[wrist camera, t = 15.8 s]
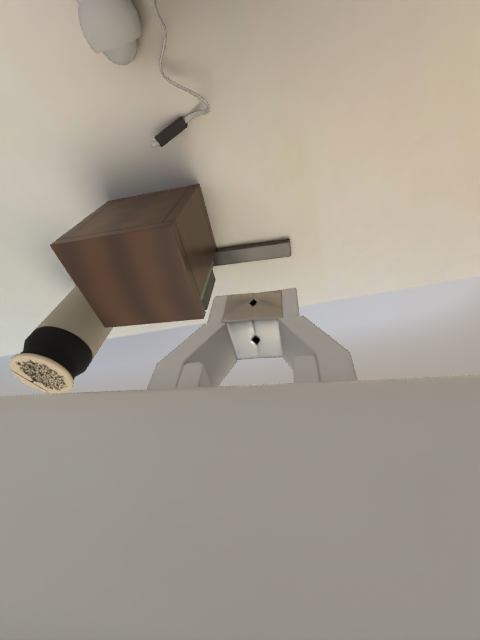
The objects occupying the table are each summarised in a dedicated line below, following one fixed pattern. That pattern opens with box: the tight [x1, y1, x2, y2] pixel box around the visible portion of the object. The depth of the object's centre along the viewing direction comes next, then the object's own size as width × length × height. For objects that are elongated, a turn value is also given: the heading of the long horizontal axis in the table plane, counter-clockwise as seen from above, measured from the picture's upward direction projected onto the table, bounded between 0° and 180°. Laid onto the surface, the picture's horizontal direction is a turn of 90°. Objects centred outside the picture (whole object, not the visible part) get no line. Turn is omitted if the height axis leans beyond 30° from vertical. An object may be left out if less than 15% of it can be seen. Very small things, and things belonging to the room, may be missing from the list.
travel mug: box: [9, 286, 113, 393], centre depth 41 cm, size 8×8×18 cm
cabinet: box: [50, 184, 291, 328], centre depth 34 cm, size 24×11×13 cm, turn 101°
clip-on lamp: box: [77, 0, 210, 147], centre depth 25 cm, size 12×6×18 cm
